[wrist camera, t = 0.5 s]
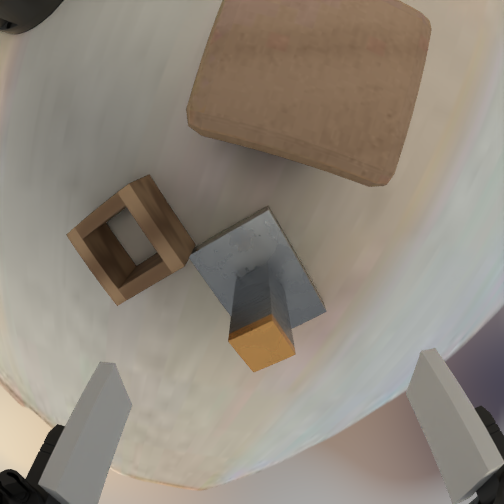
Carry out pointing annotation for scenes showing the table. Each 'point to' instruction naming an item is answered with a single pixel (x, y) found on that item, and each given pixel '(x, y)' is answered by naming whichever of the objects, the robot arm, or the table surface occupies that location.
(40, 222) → the table surface
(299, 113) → the block
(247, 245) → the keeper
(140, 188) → the wooden cube shelf
